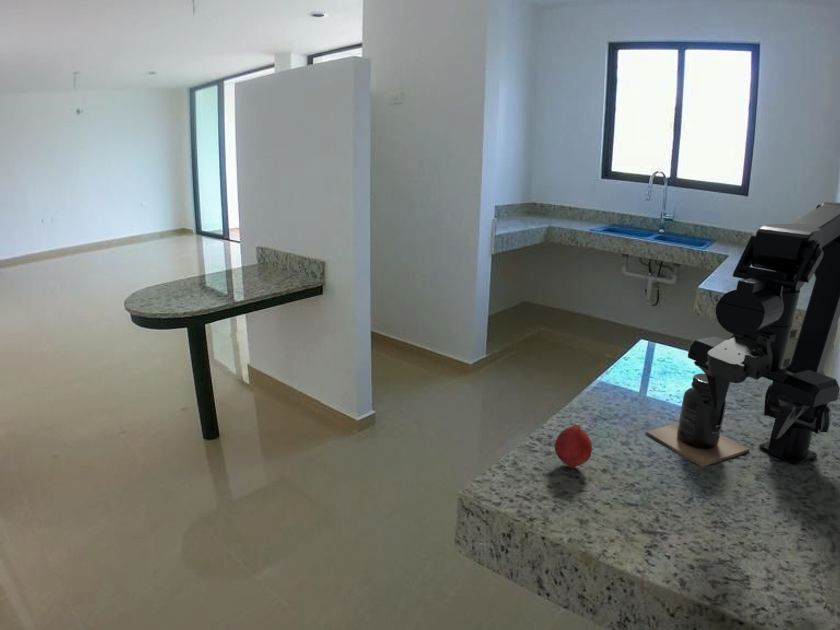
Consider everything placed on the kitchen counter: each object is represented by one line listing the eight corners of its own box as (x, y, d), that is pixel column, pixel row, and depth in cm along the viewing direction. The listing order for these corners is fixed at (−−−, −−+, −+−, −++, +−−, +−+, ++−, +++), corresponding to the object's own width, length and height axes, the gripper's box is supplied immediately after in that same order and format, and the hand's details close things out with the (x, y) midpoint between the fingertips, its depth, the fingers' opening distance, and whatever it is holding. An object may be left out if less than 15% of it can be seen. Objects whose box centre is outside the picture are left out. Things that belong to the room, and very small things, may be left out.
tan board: (691, 421, 110) (691, 419, 110) (748, 451, 100) (749, 449, 100) (645, 433, 105) (646, 431, 105) (701, 467, 95) (702, 464, 95)
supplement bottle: (723, 452, 99) (736, 388, 95) (681, 447, 100) (692, 384, 96) (712, 433, 105) (724, 372, 101) (672, 428, 106) (683, 369, 103)
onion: (550, 471, 93) (554, 427, 90) (556, 454, 98) (560, 412, 95) (587, 480, 90) (592, 435, 88) (591, 462, 96) (596, 419, 93)
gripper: (670, 308, 82) (654, 406, 87) (800, 351, 66) (772, 468, 71) (722, 300, 87) (704, 393, 92) (855, 339, 71) (825, 449, 76)
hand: (745, 423), depth 82 cm, fingers open, 9 cm apart
